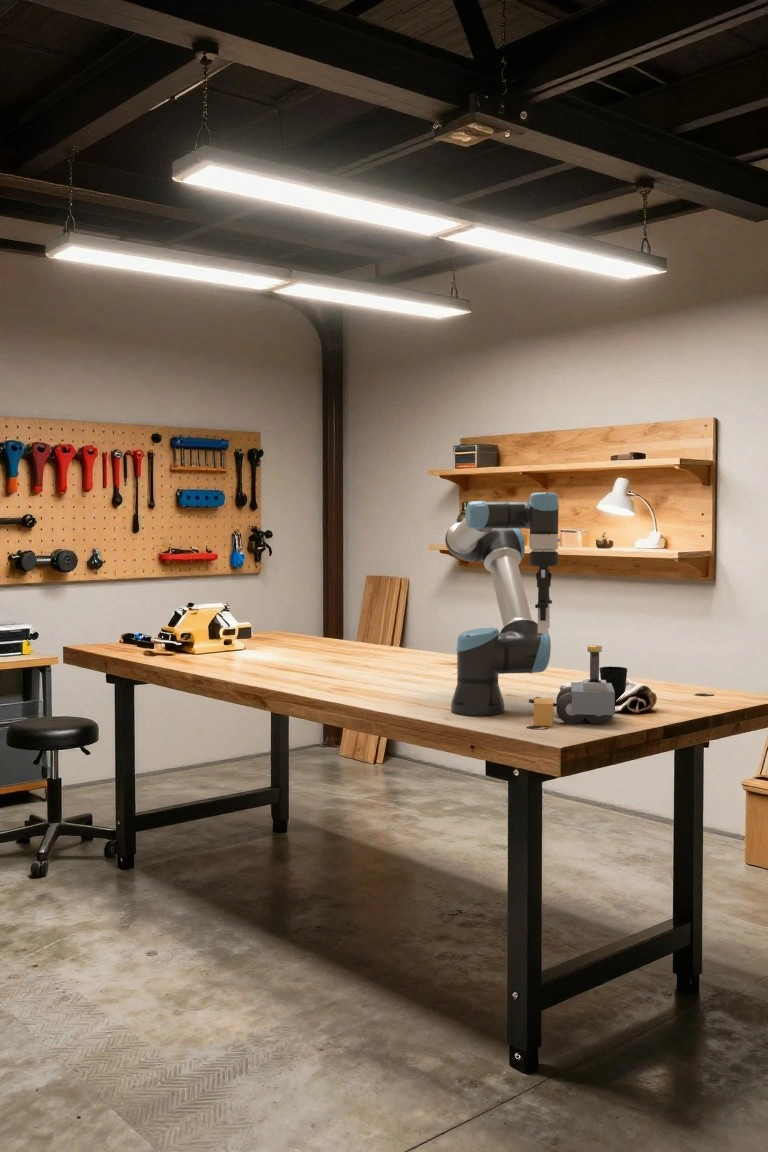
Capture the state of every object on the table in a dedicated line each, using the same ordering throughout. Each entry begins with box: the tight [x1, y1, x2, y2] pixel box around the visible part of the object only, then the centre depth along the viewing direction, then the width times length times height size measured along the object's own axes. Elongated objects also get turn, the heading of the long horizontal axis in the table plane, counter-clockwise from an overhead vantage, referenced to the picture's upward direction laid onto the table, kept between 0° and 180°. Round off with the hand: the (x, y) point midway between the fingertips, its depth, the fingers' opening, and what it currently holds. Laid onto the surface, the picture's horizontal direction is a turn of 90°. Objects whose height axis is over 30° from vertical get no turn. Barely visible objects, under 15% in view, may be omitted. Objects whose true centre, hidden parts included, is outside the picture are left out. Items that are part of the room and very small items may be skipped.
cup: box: [599, 666, 628, 704], centre depth 292 cm, size 8×8×12 cm
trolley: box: [555, 679, 616, 726], centre depth 278 cm, size 15×16×11 cm
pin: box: [586, 644, 603, 683], centre depth 274 cm, size 4×4×11 cm
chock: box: [533, 697, 554, 727], centre depth 275 cm, size 5×9×6 cm, turn 170°
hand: (543, 630), depth 274 cm, fingers open, 13 cm apart
